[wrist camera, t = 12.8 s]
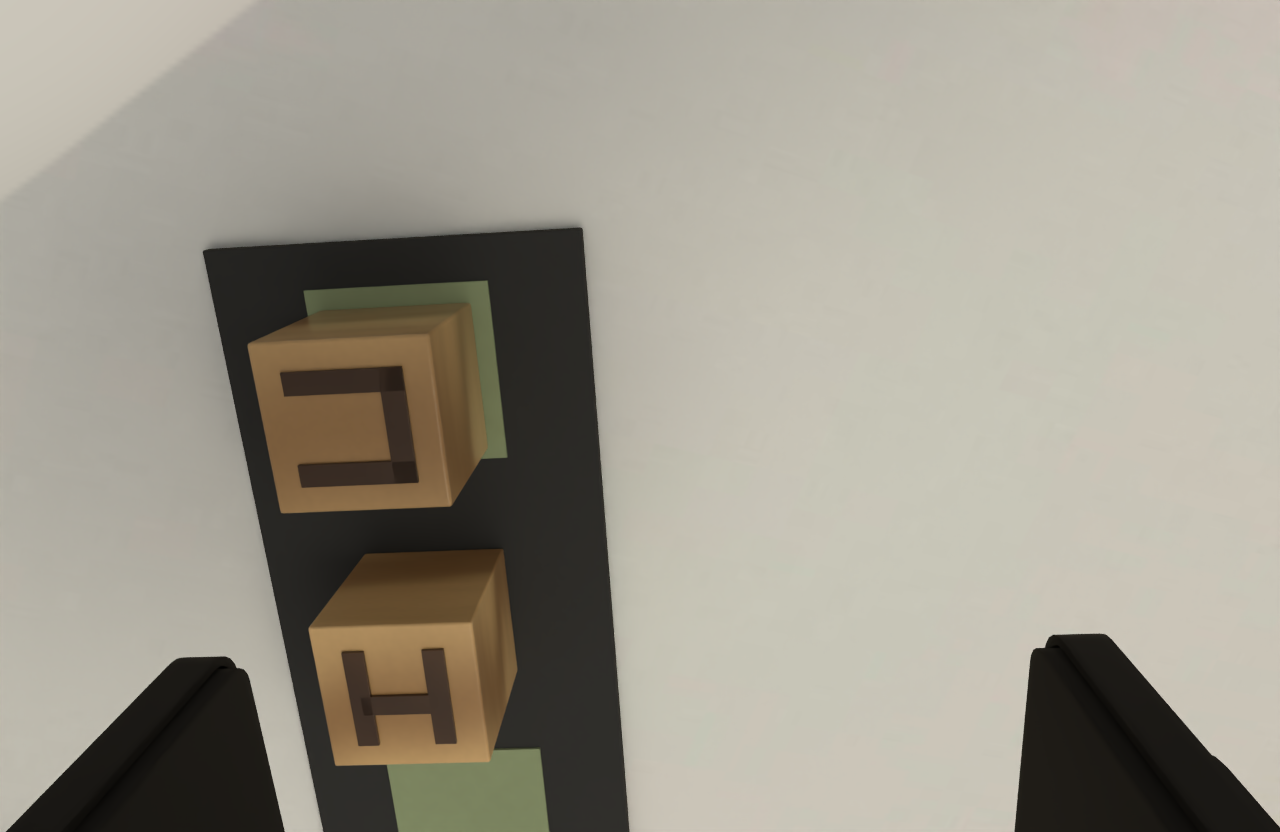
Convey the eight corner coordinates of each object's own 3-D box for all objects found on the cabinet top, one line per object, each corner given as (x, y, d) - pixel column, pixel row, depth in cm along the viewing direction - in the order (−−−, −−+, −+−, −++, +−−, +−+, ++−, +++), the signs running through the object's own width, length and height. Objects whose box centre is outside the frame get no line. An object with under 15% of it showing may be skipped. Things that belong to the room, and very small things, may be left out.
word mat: (209, 248, 25) (199, 250, 25) (582, 227, 24) (580, 228, 24) (341, 895, 32) (336, 906, 32) (634, 890, 31) (633, 901, 31)
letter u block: (319, 310, 25) (243, 344, 21) (471, 302, 25) (427, 334, 20) (344, 455, 26) (278, 516, 22) (488, 448, 26) (451, 509, 22)
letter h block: (364, 552, 27) (305, 630, 23) (503, 547, 27) (471, 624, 23) (385, 674, 29) (333, 769, 24) (518, 670, 28) (489, 765, 24)
